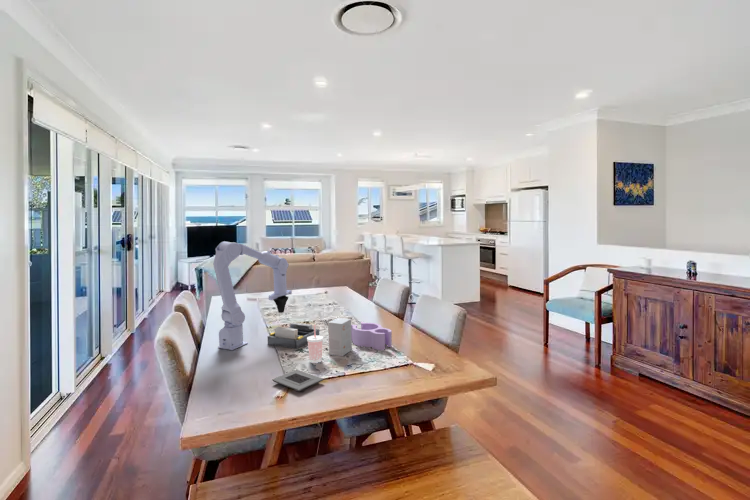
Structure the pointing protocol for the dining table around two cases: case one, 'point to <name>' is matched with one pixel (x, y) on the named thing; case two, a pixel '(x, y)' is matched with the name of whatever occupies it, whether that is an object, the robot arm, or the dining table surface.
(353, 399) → the dining table surface
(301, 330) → the rack
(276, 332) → the block
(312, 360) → the beverage cup
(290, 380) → the grey picture frame
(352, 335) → the clip
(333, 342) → the small box
